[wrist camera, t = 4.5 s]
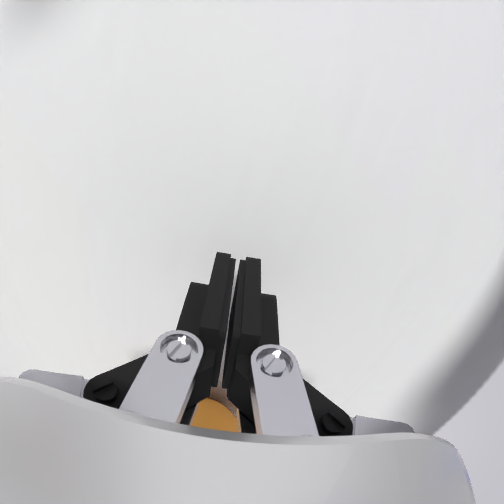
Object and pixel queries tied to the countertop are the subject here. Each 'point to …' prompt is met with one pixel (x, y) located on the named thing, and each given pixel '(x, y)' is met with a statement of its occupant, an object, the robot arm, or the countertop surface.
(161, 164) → the countertop surface
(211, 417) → the ball
